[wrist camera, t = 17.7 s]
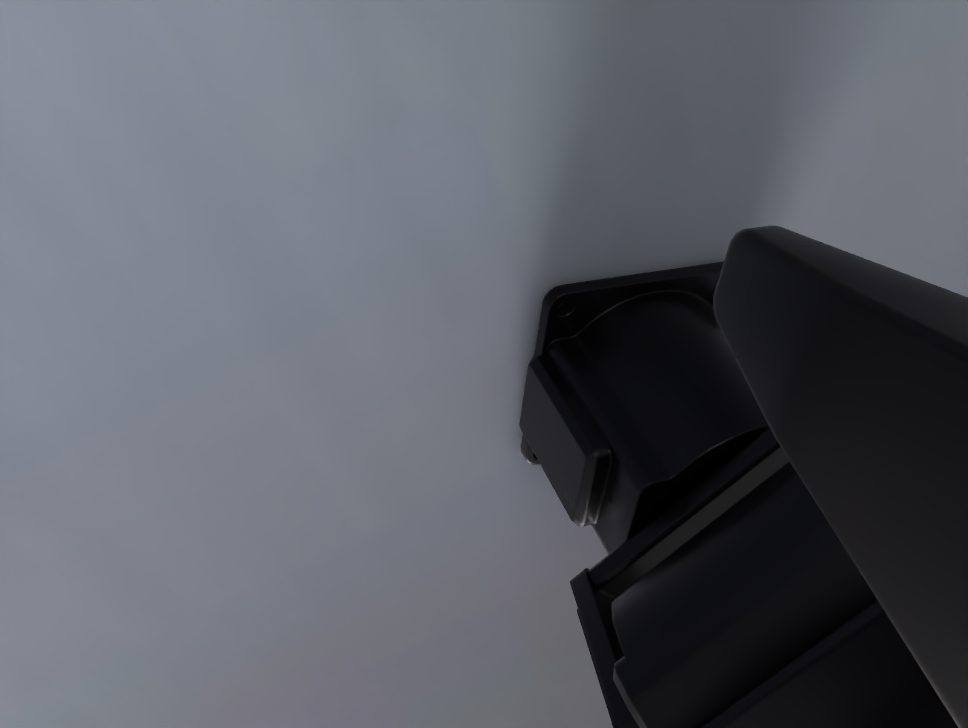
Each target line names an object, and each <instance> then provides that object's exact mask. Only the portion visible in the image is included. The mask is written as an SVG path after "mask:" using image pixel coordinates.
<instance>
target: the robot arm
mask: <svg viewBox="0 0 968 728" xmlns="http://www.w3.org/2000/svg"><path fill="white" fill-rule="evenodd" d="M564 301H567V302H566V303H565V304H564V305H563V306H561V307H559V308H558V306H559V305H560V304H561V303H562V302H564ZM520 428H521V430H522V432H523V436H522V443H521V451H522V453H523V455H524V457H525V459H526V460H527V462H528V463H530V464H533V465H535V464H541V466H542V468H543V470H544V472H545V473H546V475H547V477H548V479H549V481H550V482H551V484H552V486H553V488H554V490H555V492H556V493H557V495H558V497H559V499H560V501H561V502H562V504H563V506H564V508H565V510H566V511H567V513H568V515H569V517H570V519H571V520H572V521H573V522H574V523H576V524H577V525H578V526H581V527H582V526H586V525H590V524H592V526H593V528H594V530H595V531H596V533H597V535H598V537H599V538H600V540H601V542H602V544H603V545H604V547H605V549H606V551H607V552H608V554H609V555H608V556H606V557H605V558H604V559H603V560H601V561H600V562H599V563H598V564H596V565H595V566H594V567H593V568H591V569H590V570H589V569H587V568H586V569H585V570H583V571H582V572H581V573H580V574H578V575H577V576H576V577H575V578H573V579H572V580H571V581H570V584H571V587H572V590H573V594H574V597H575V600H576V603H577V607H578V609H577V613H578V616H579V619H580V622H581V626H582V629H583V632H584V635H585V638H586V642H587V645H588V648H589V651H590V654H591V658H592V661H593V664H594V667H595V670H596V674H597V677H598V680H599V683H600V686H601V689H602V693H603V696H604V699H605V702H606V705H607V709H608V712H609V715H610V718H611V721H612V725H613V727H614V728H968V297H965V296H962V295H960V294H957V293H954V292H952V291H949V290H946V289H944V288H941V287H938V286H936V285H933V284H931V283H928V282H925V281H923V280H920V279H917V278H915V277H912V276H909V275H907V274H904V273H901V272H899V271H896V270H893V269H891V268H888V267H885V266H883V265H880V264H877V263H875V262H872V261H870V260H867V259H864V258H862V257H859V256H856V255H854V254H851V253H848V252H846V251H843V250H840V249H838V248H835V247H832V246H830V245H827V244H824V243H822V242H819V241H816V240H814V239H811V238H809V237H806V236H803V235H801V234H798V233H795V232H793V231H790V230H787V229H785V228H782V227H779V226H764V227H756V228H749V229H743V230H741V231H739V232H738V233H736V234H735V236H734V237H733V238H732V240H731V242H730V244H729V247H728V251H727V254H726V257H725V260H724V262H719V263H712V264H705V265H698V266H691V267H684V268H677V269H670V270H663V271H656V272H649V273H642V274H635V275H628V276H621V277H614V278H607V279H600V280H593V281H586V282H579V283H572V284H565V285H560V286H557V287H555V288H553V289H552V290H550V291H549V292H548V293H547V295H546V296H545V298H544V300H543V304H542V311H541V317H540V324H539V330H538V337H537V344H536V350H535V356H534V357H533V358H532V360H531V361H530V363H529V365H528V370H527V377H526V384H525V391H524V397H523V404H522V411H521V418H520Z"/></svg>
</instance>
